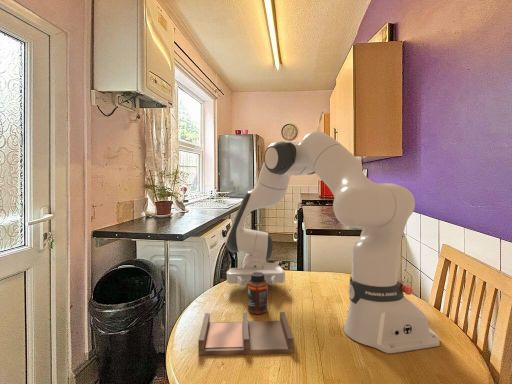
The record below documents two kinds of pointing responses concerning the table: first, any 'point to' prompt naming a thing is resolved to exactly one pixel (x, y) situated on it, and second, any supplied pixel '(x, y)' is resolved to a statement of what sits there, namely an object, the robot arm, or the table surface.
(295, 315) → the table surface
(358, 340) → the robot arm
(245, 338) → the slot rack
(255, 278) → the supplement bottle
